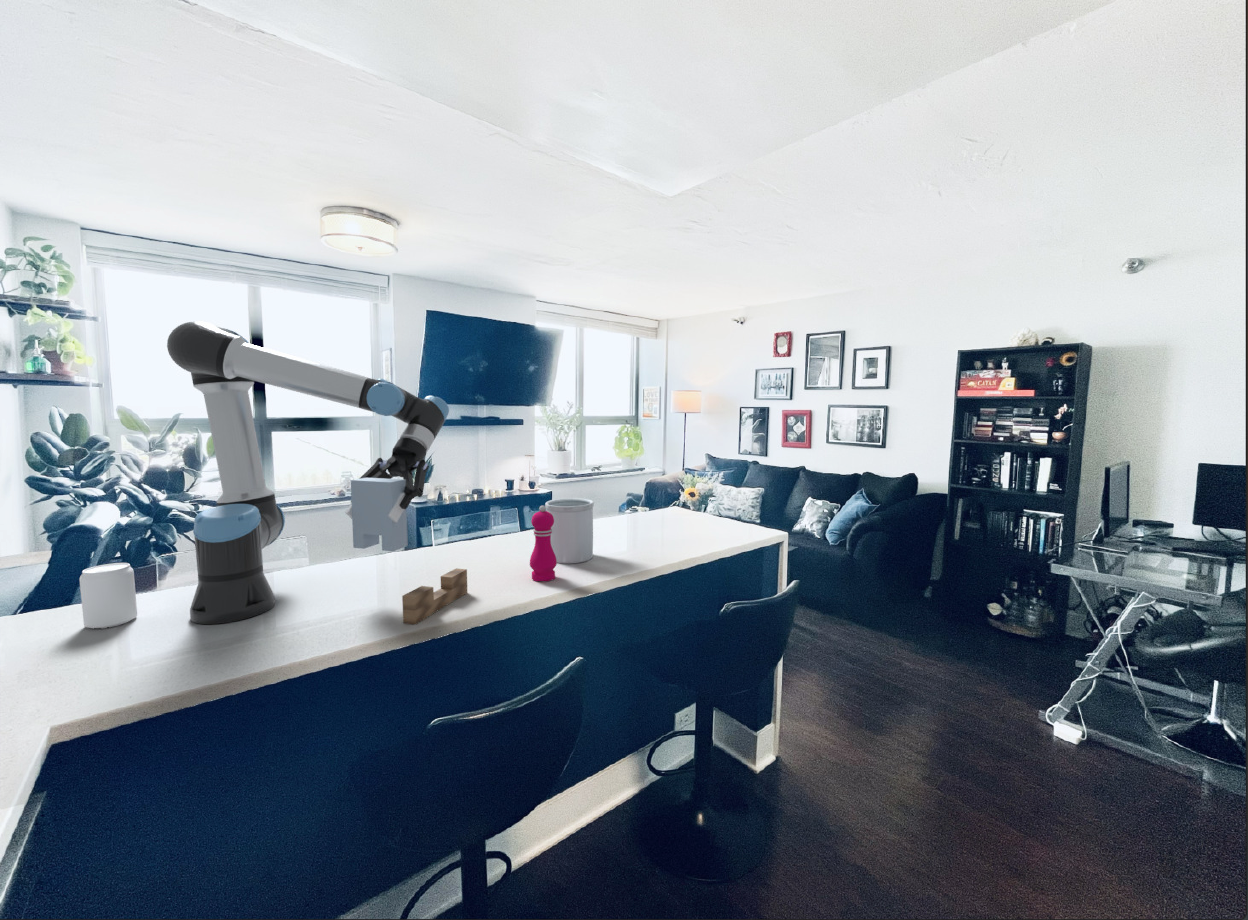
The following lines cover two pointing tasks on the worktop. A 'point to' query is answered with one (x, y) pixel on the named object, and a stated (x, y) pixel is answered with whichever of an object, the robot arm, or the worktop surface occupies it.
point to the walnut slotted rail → (434, 596)
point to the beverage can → (108, 595)
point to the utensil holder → (571, 529)
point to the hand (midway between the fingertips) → (370, 517)
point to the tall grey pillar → (377, 513)
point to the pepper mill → (543, 547)
